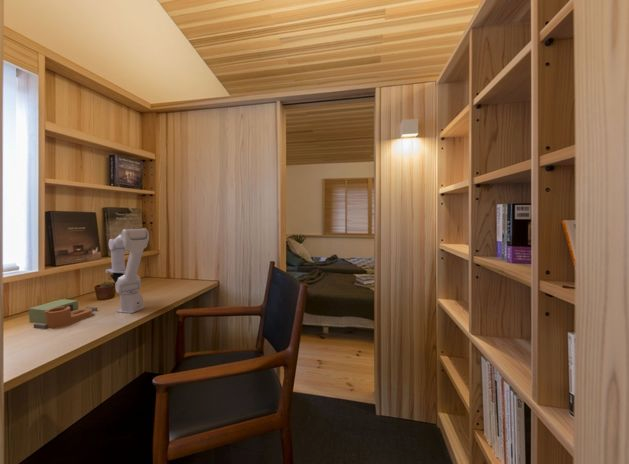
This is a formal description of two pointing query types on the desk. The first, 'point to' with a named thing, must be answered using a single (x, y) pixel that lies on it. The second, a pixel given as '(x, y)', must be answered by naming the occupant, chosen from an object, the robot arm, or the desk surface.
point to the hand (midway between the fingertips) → (119, 287)
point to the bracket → (65, 316)
